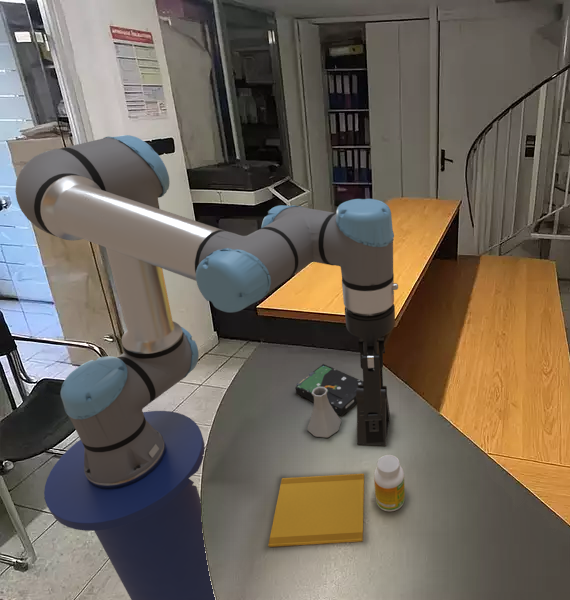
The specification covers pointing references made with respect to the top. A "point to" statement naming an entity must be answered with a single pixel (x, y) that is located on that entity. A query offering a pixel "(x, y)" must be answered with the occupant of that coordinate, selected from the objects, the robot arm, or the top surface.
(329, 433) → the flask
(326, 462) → the top surface
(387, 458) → the supplement bottle
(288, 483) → the yellow tray
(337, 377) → the disk drive
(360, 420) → the phone stand
